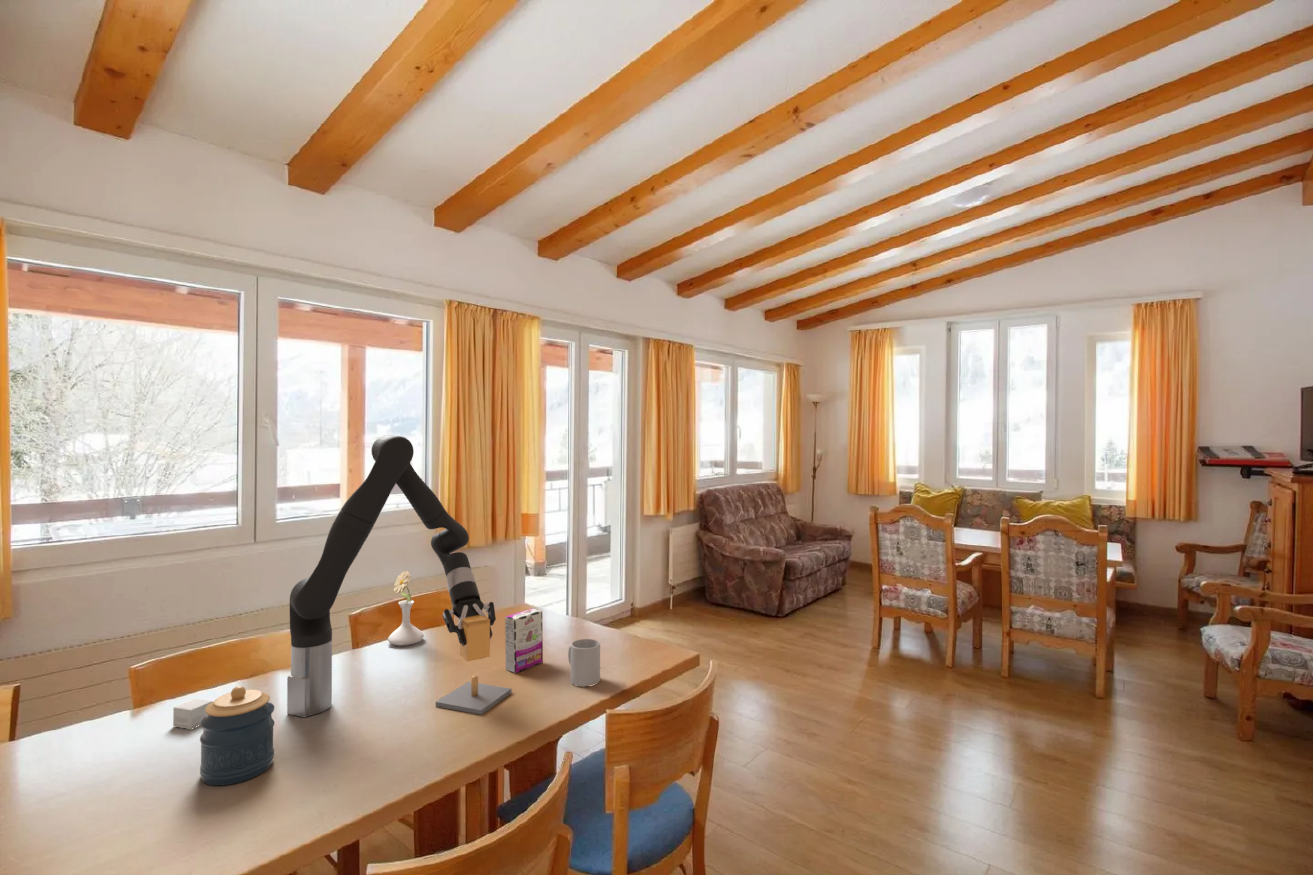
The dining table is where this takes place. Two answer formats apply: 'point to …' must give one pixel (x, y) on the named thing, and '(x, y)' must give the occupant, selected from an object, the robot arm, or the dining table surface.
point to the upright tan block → (476, 638)
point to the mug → (584, 662)
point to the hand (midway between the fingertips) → (477, 641)
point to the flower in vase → (405, 616)
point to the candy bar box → (523, 640)
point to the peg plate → (474, 697)
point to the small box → (189, 713)
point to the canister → (236, 737)
